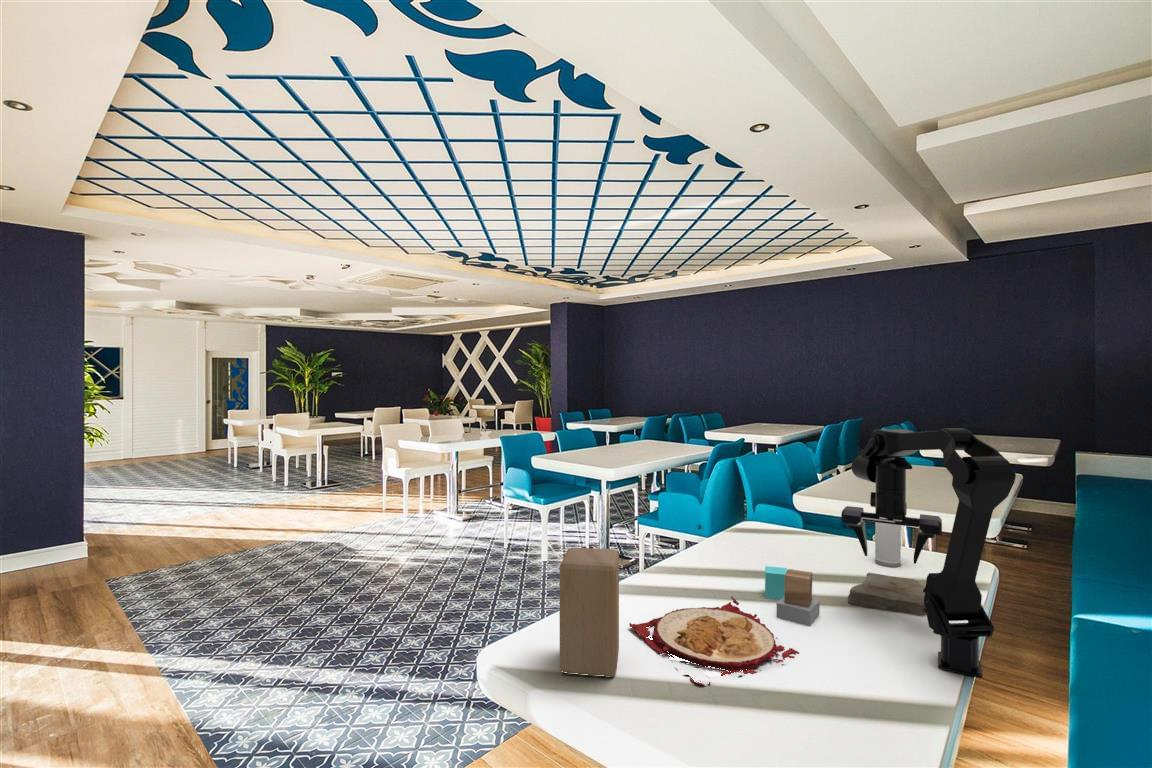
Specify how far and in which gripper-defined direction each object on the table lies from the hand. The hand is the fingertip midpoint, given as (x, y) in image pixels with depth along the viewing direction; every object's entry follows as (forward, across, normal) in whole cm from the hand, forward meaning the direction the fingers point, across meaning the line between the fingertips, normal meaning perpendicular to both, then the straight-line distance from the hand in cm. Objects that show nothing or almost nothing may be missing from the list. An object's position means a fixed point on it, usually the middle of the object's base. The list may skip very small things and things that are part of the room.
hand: (890, 559), depth 122 cm
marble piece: (+14, +1, -12) cm, 18 cm away
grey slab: (+13, +17, +9) cm, 23 cm away
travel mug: (+13, +3, -41) cm, 43 cm away
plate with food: (+14, +28, +30) cm, 44 cm away
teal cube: (+13, +24, -1) cm, 27 cm away
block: (+13, +45, +51) cm, 69 cm away
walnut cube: (+10, +17, +9) cm, 22 cm away
